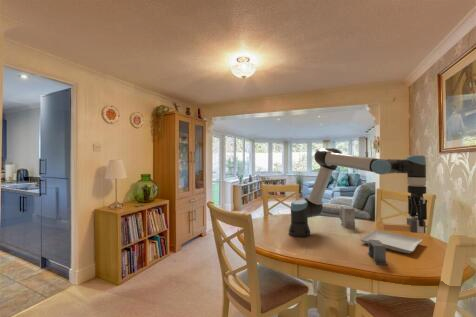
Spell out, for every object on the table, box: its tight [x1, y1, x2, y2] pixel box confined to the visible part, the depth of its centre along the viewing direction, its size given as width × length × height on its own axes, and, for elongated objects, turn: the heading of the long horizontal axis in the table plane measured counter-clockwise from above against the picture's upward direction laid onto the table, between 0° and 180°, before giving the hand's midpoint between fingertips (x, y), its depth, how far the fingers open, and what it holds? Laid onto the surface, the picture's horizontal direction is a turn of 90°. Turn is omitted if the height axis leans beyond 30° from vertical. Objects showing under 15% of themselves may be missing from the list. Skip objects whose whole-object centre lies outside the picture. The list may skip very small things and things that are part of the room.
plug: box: [381, 217, 429, 234], centre depth 117 cm, size 19×5×6 cm, turn 76°
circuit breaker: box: [338, 206, 356, 229], centre depth 183 cm, size 8×14×15 cm, turn 174°
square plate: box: [359, 229, 423, 254], centre depth 142 cm, size 27×27×4 cm
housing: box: [367, 240, 389, 266], centre depth 120 cm, size 5×13×9 cm, turn 167°
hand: (417, 230), depth 116 cm, fingers closed on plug, 5 cm apart
